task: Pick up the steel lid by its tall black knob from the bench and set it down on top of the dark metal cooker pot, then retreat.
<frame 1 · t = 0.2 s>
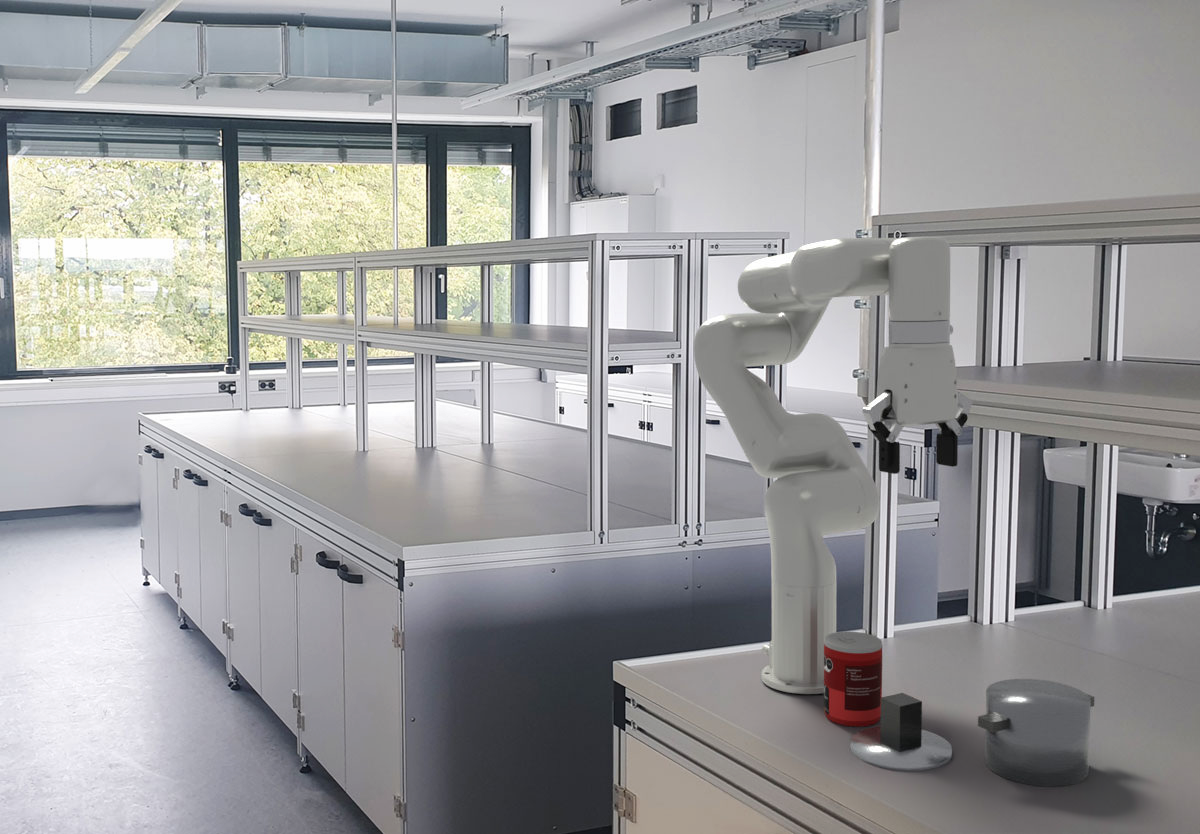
hand: (918, 468, 152), 36 cm above the table, tool pointing down, fingers open, 9 cm apart
canned food: (852, 718, 164), on the table
pot: (1035, 765, 146), on the table
lid: (900, 752, 152), on the table
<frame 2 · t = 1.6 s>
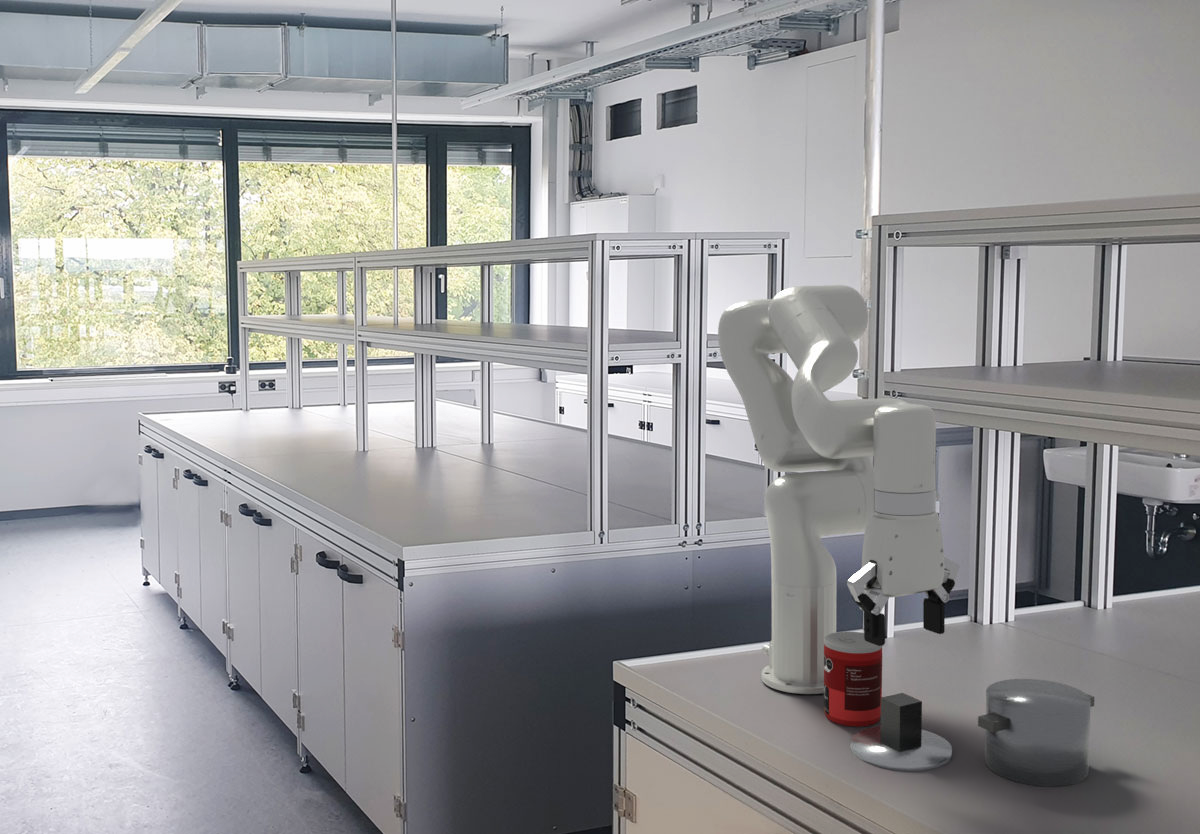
hand: (904, 637, 150), 15 cm above the table, tool pointing down, fingers open, 9 cm apart
nothing on the table moved.
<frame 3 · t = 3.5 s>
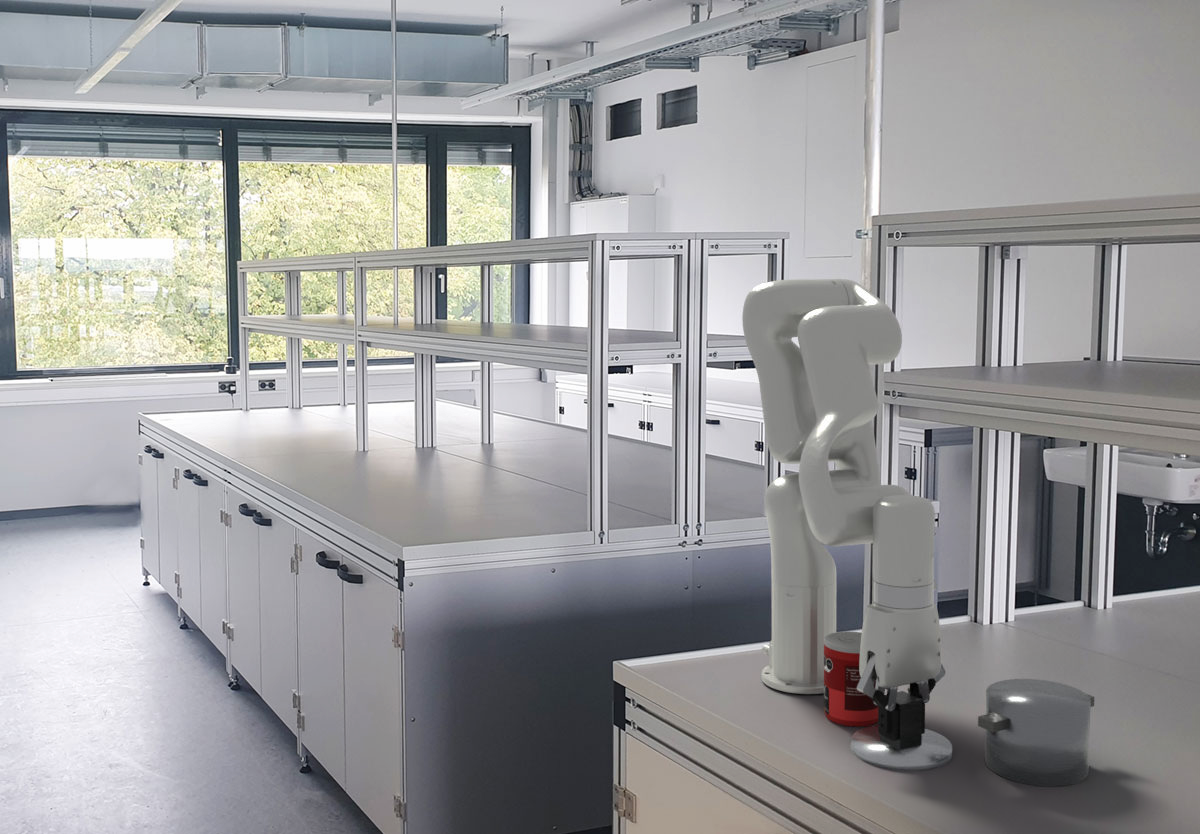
hand: (901, 732, 152), 2 cm above the table, tool pointing down, fingers closed on lid, 3 cm apart
lid: (900, 750, 152), on the table, touching gripper
everything else where it was.
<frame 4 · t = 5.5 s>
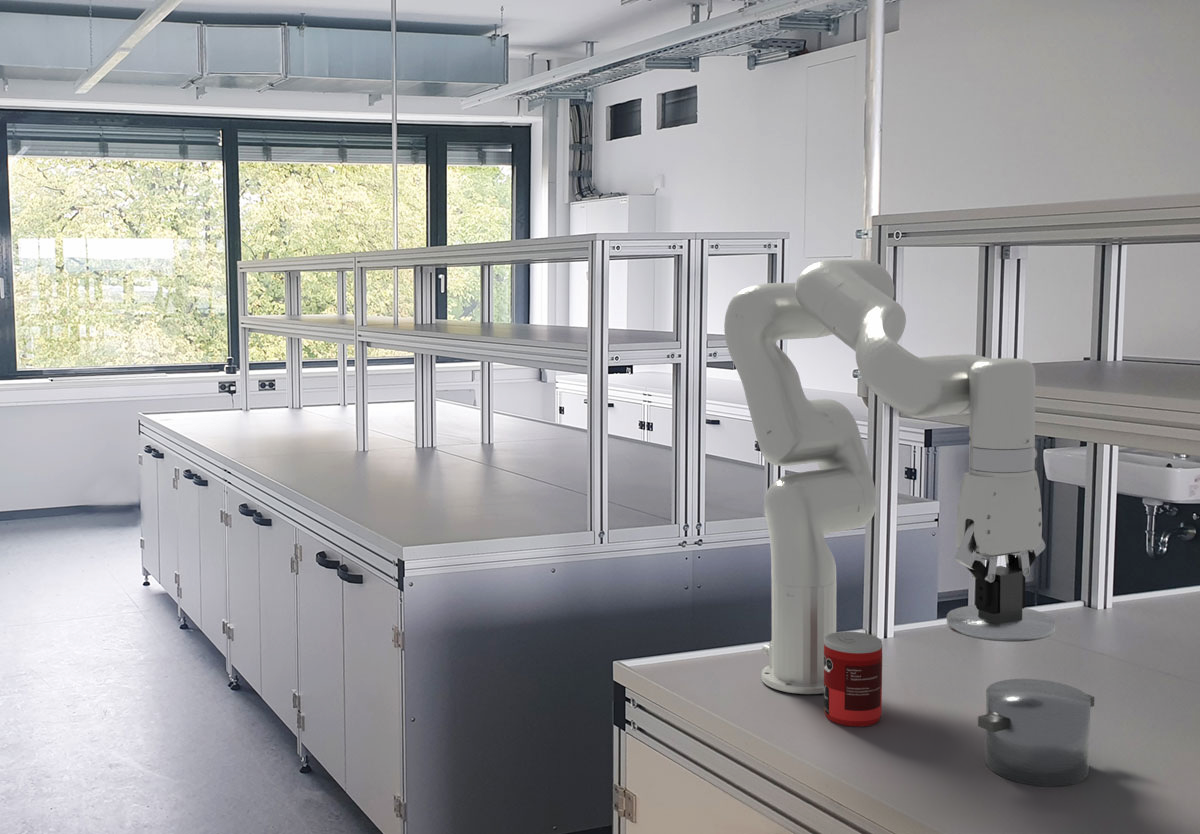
hand: (1000, 607, 145), 20 cm above the table, tool pointing down, fingers closed on lid, 3 cm apart
lid: (1000, 626, 146), point 17 cm above the table, touching gripper
everything else where it was.
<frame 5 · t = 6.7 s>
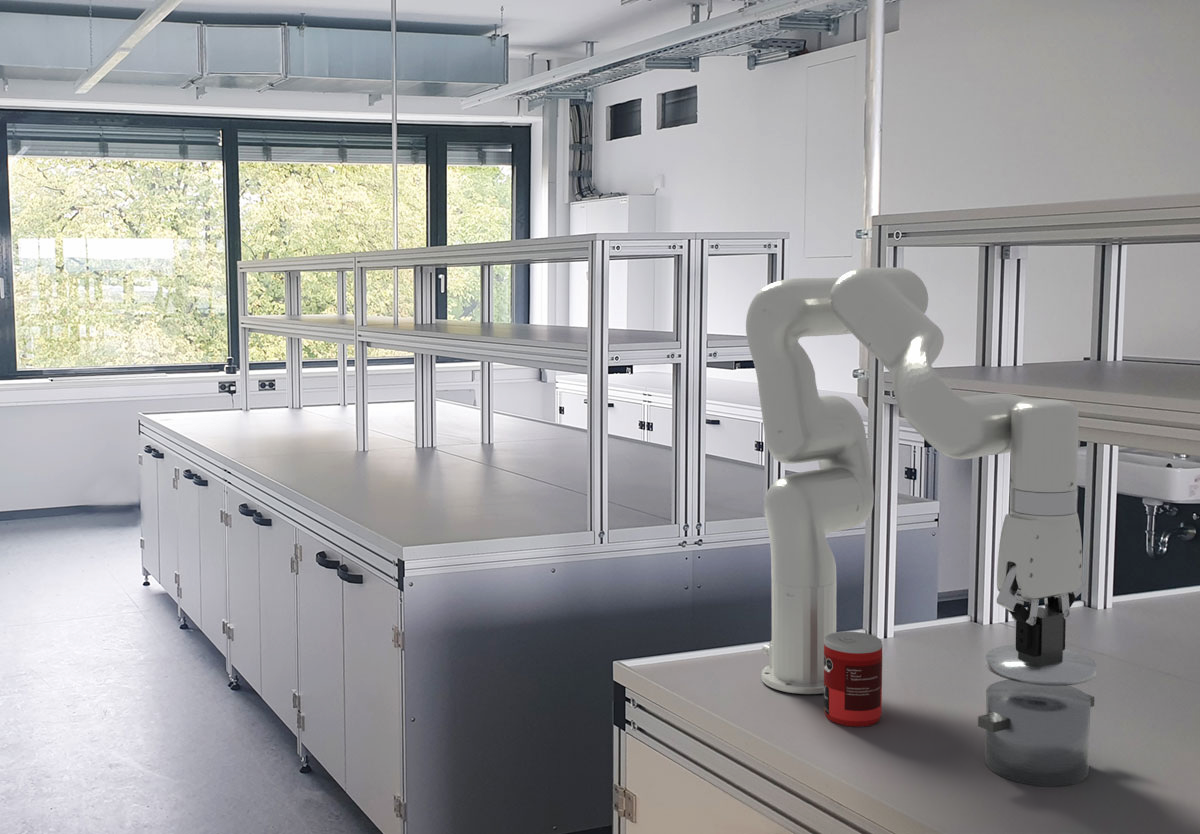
hand: (1040, 649, 145), 15 cm above the table, tool pointing down, fingers closed on lid, 3 cm apart
lid: (1039, 668, 145), point 13 cm above the table, touching gripper
everything else where it was.
when the fingers open (12 cm above the table, at t = 7.8 s): lid stays where it is, resting on pot.
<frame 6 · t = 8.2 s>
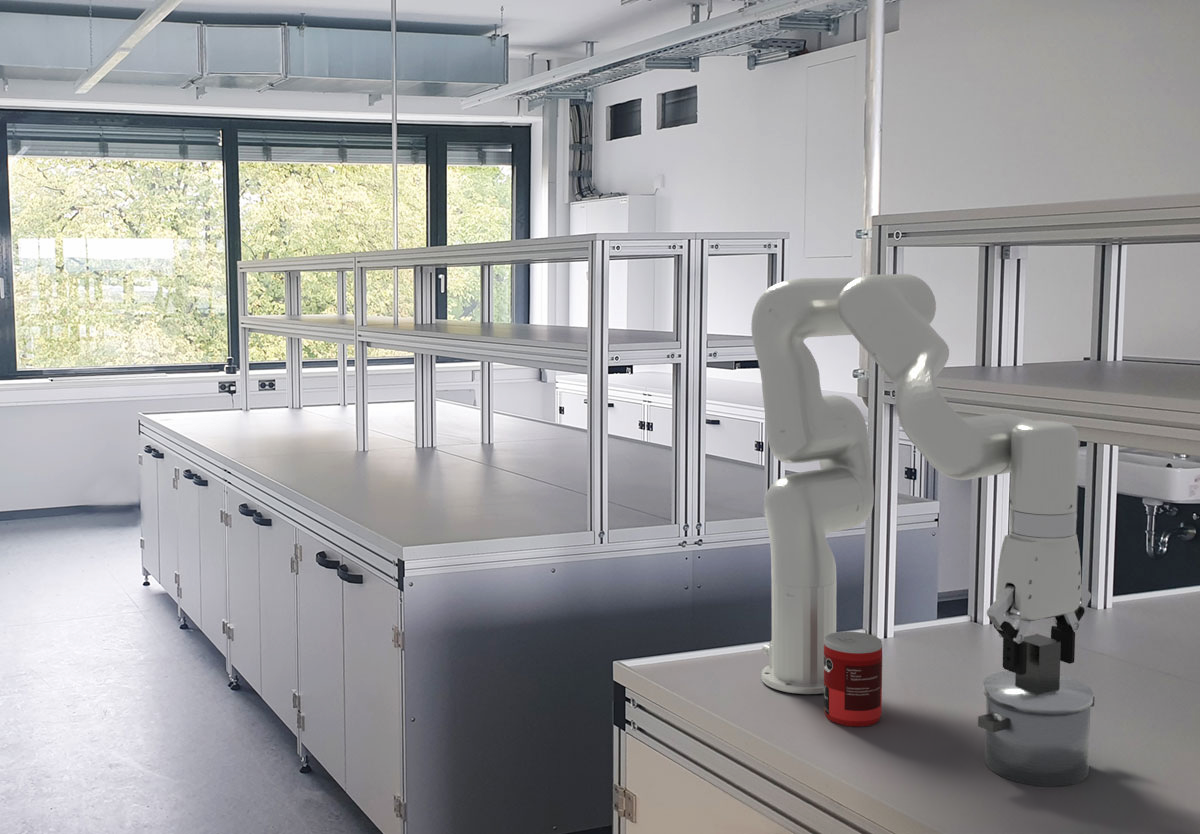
hand: (1038, 665, 145), 13 cm above the table, tool pointing down, fingers open, 7 cm apart
lid: (1037, 695, 145), point 9 cm above the table, touching pot
everything else where it was.
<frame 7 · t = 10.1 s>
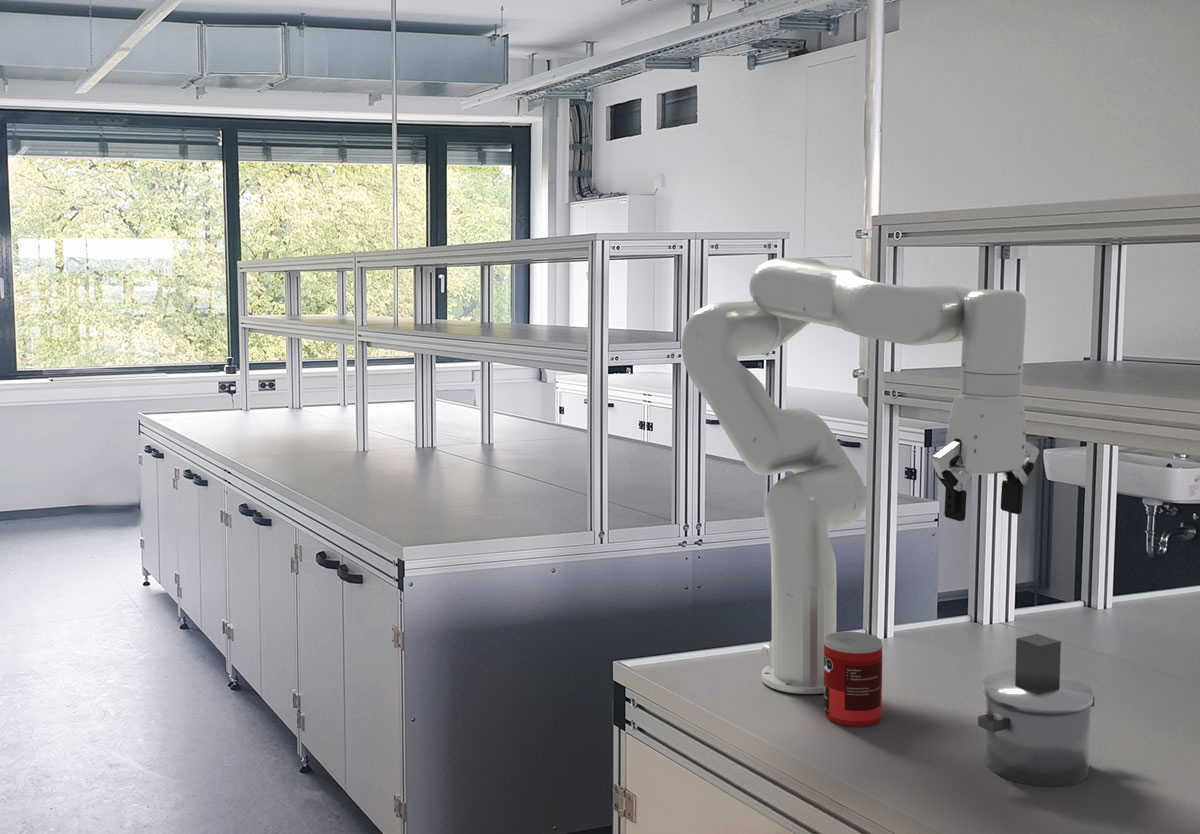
hand: (983, 515, 155), 29 cm above the table, tool pointing down, fingers open, 9 cm apart
nothing on the table moved.
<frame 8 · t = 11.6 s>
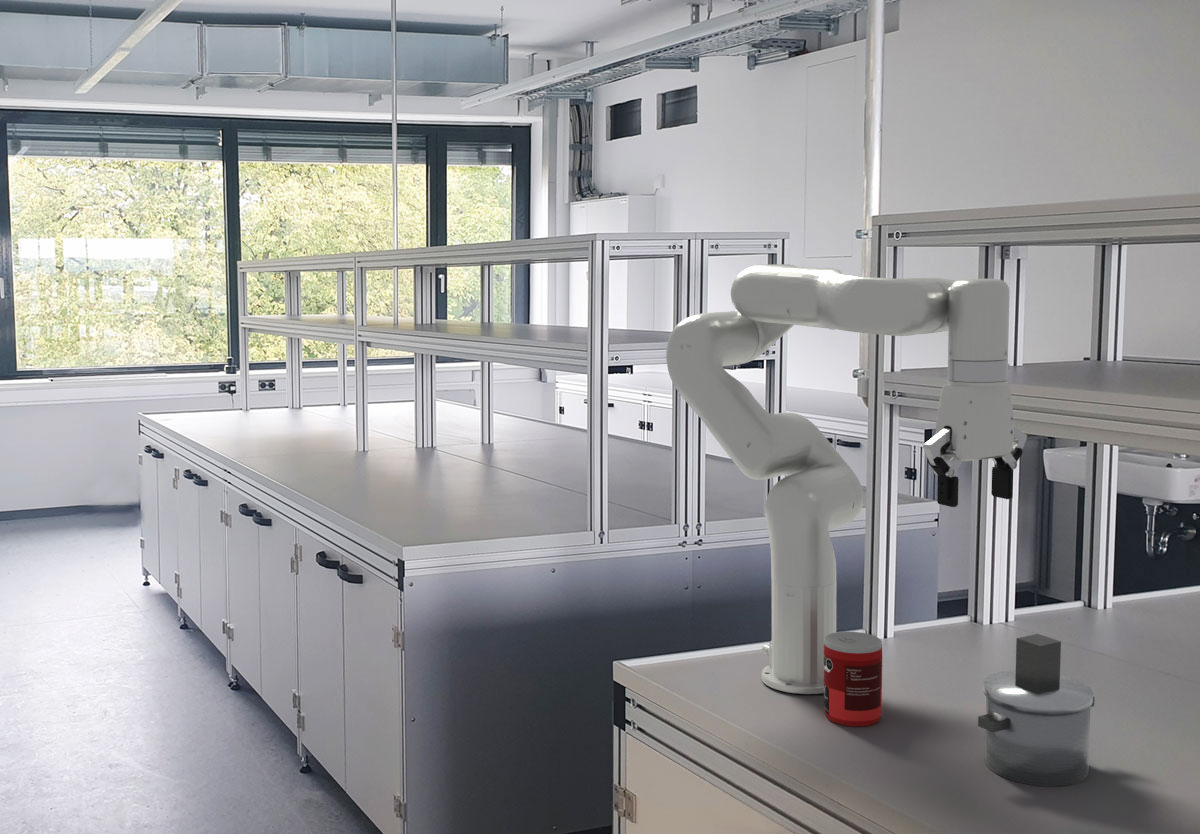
hand: (975, 501, 158), 30 cm above the table, tool pointing down, fingers open, 9 cm apart
nothing on the table moved.
at the end: lid 0.1 cm off-centre on the pot, point 9.0 cm above the pot's base; the gripper is holding nothing; lid tilted 0° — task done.
